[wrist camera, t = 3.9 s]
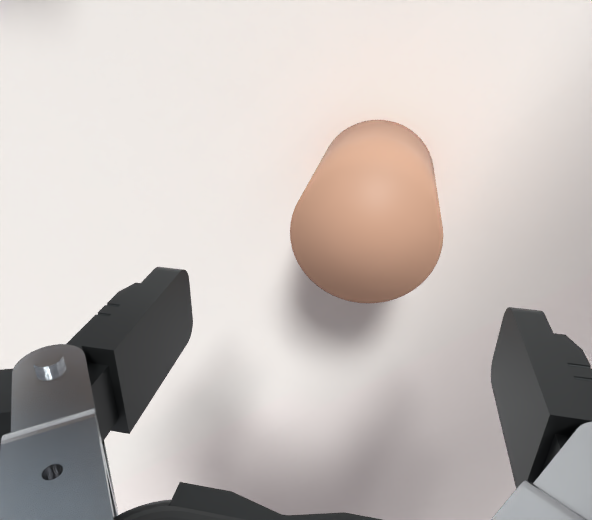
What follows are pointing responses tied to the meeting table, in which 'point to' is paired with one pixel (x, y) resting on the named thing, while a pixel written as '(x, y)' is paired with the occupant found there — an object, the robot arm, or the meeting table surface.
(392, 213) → the peach capsule
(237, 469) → the meeting table surface
